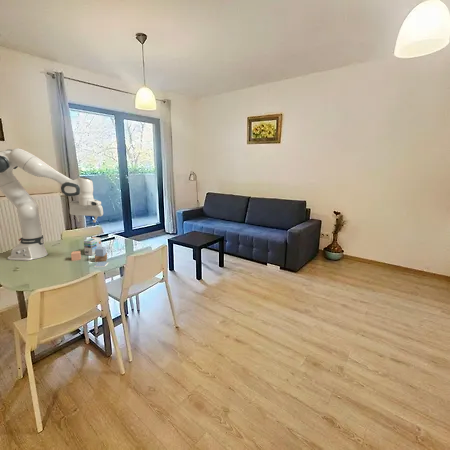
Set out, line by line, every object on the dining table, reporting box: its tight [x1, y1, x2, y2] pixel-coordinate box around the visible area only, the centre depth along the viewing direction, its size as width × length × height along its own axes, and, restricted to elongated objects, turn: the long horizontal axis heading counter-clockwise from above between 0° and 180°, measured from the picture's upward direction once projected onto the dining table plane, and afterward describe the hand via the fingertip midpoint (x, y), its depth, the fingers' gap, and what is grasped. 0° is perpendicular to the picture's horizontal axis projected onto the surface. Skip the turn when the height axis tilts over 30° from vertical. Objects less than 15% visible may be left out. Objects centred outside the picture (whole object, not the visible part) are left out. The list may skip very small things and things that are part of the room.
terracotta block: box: [70, 250, 82, 262], centre depth 175 cm, size 5×5×5 cm
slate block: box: [95, 246, 107, 256], centre depth 174 cm, size 5×5×5 cm
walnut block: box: [94, 252, 108, 263], centre depth 175 cm, size 7×7×4 cm
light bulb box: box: [83, 236, 103, 257], centre depth 187 cm, size 11×7×11 cm, turn 168°
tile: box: [93, 261, 109, 268], centre depth 167 cm, size 7×7×1 cm
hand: (87, 222), depth 171 cm, fingers open, 8 cm apart
